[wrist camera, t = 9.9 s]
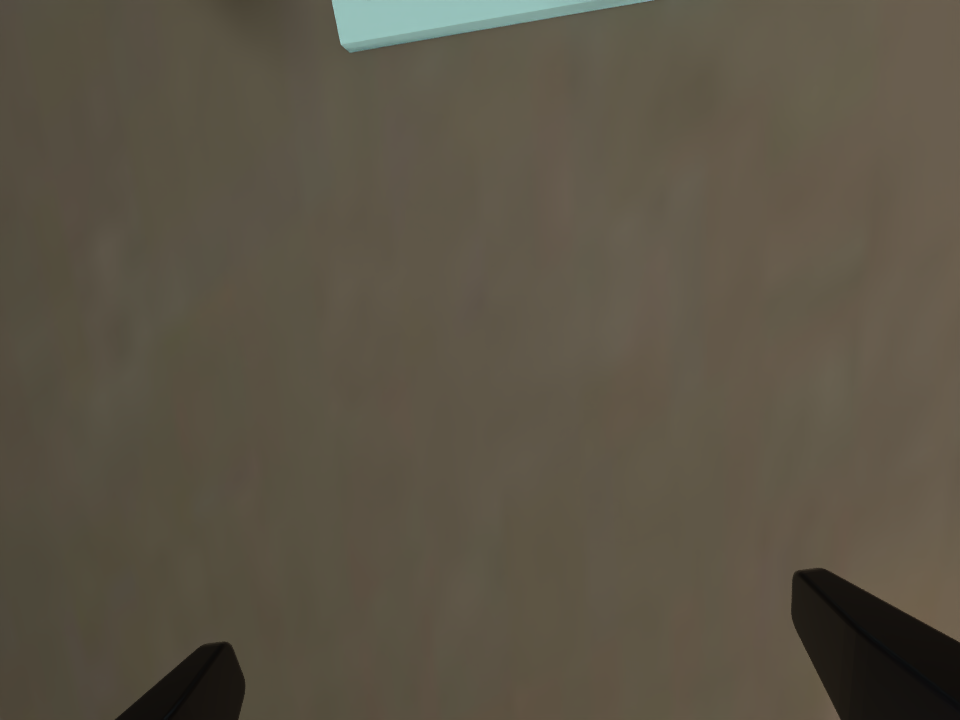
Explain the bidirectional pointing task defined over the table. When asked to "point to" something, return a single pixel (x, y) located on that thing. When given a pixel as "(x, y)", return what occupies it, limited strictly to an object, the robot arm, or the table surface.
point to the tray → (443, 17)
